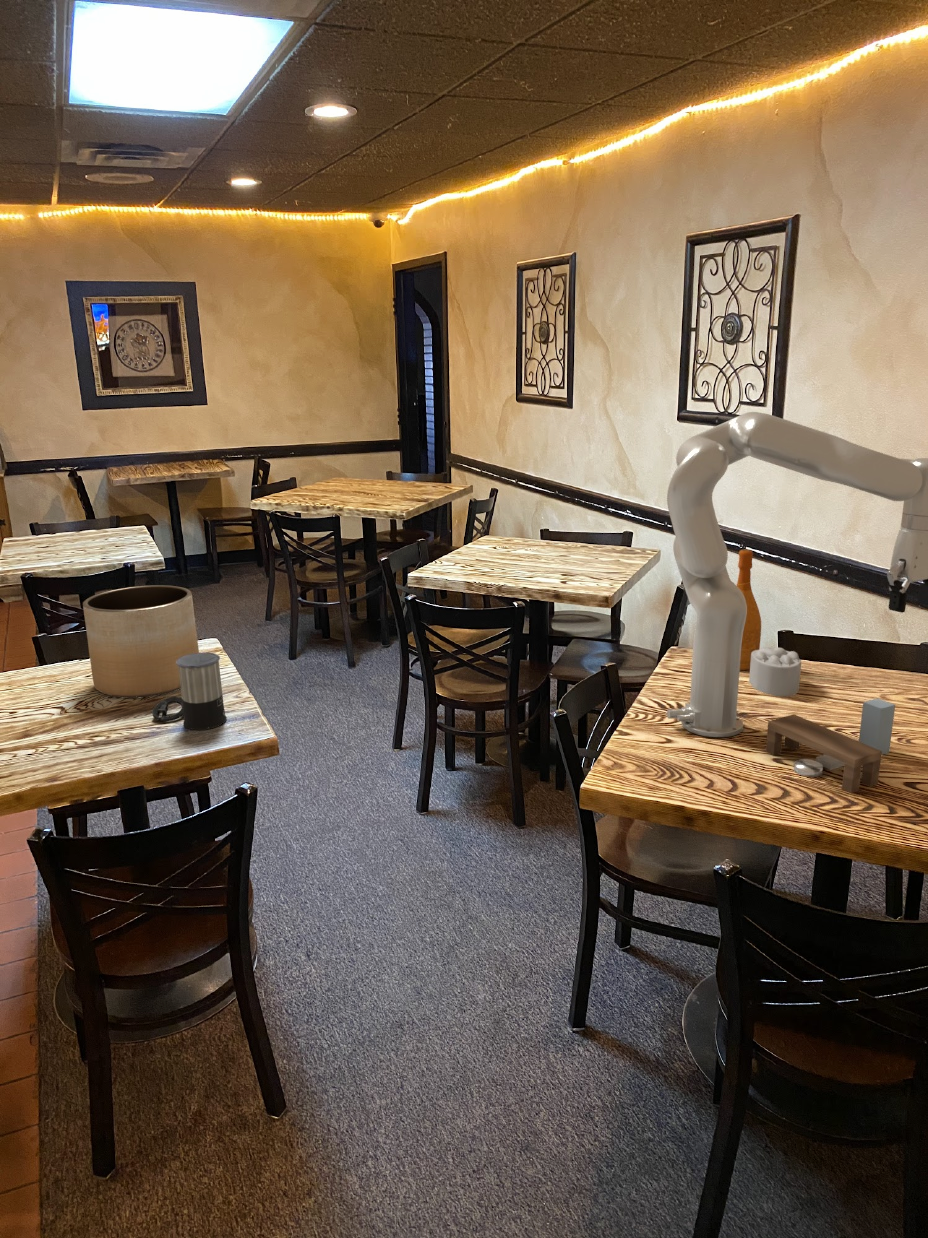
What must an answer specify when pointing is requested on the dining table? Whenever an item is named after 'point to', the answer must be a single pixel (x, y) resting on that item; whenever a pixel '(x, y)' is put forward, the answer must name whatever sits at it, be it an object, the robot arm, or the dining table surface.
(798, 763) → the token
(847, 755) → the stand
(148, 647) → the beige ceramic crock
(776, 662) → the lumpy-topped squat cylinder
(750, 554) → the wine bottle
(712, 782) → the dining table surface
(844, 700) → the dining table surface
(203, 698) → the milk frother
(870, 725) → the grey block
